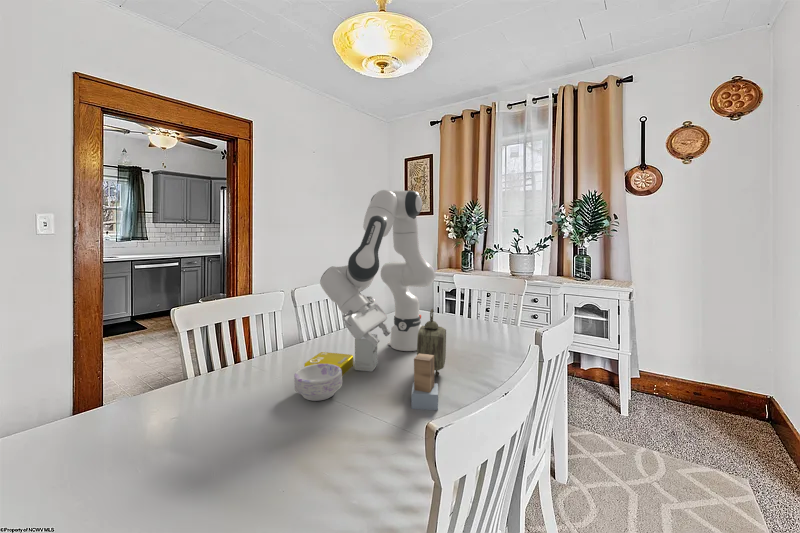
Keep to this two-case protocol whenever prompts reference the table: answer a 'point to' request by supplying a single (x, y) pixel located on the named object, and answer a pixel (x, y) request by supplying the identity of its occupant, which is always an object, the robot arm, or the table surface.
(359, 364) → the supplement box
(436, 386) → the slate block
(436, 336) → the tabletop clock
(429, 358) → the walnut pillar
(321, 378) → the paper bowls
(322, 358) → the element tile
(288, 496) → the table surface
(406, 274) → the robot arm
